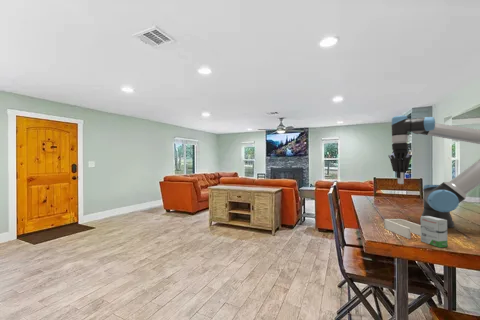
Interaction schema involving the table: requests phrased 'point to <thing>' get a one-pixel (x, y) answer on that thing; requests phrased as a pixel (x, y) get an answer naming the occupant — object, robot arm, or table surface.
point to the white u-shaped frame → (402, 227)
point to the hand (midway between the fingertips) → (400, 183)
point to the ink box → (434, 231)
